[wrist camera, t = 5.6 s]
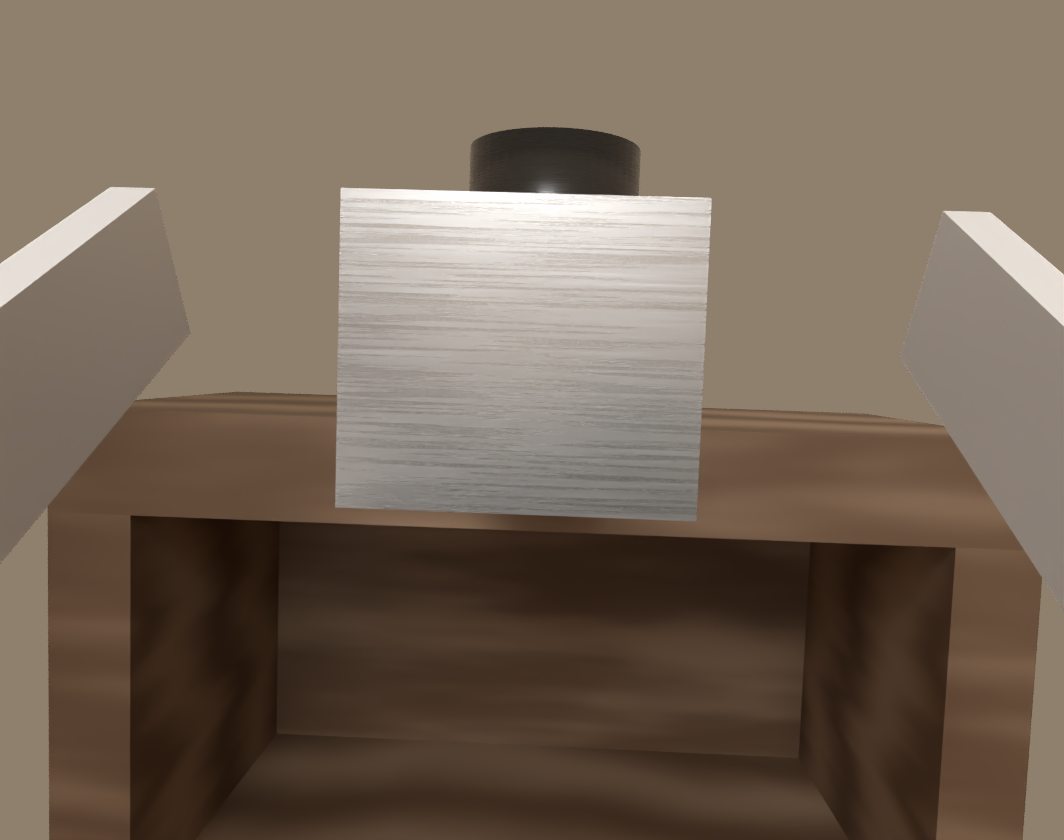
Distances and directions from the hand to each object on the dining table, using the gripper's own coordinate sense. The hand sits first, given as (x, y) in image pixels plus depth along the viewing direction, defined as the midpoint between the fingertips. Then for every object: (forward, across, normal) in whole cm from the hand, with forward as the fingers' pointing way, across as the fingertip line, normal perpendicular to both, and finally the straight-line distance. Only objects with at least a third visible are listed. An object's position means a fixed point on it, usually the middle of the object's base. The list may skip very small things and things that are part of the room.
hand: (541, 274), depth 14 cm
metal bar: (+7, 0, -8) cm, 10 cm away
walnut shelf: (-3, 0, -37) cm, 37 cm away
